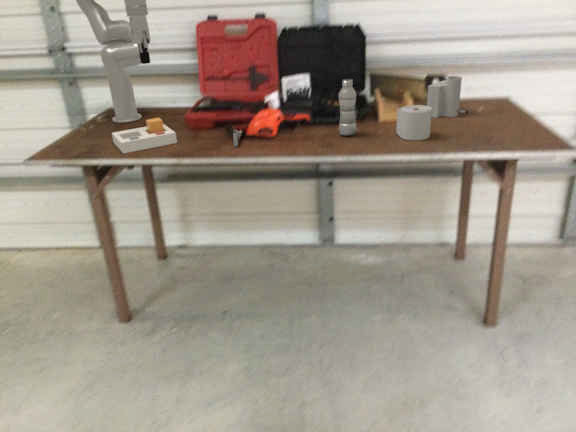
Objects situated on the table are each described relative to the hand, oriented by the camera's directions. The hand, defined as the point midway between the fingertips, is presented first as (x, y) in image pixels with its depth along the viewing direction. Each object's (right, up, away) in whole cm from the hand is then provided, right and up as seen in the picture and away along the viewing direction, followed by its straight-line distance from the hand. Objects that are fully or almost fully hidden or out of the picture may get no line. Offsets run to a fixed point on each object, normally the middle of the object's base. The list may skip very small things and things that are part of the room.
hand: (145, 63), depth 194 cm
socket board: (0, -30, 0) cm, 30 cm away
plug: (+4, -29, +2) cm, 30 cm away
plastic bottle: (+76, -28, -5) cm, 81 cm away
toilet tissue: (+99, -30, -11) cm, 103 cm away
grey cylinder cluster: (+119, -18, +12) cm, 121 cm away
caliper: (+36, -29, -2) cm, 47 cm away
